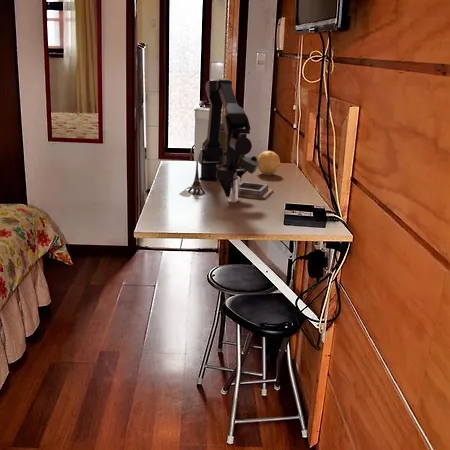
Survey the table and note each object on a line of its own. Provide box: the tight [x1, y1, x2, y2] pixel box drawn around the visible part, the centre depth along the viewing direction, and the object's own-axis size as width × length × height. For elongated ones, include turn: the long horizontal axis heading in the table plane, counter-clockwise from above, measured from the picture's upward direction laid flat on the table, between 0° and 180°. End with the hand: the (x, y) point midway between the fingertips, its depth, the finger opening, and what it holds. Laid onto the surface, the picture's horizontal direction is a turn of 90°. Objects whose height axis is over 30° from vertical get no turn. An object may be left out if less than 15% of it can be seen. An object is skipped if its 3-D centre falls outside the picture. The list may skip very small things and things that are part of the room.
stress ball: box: [257, 150, 281, 176], centre depth 234 cm, size 10×10×10 cm
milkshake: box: [227, 176, 241, 203], centre depth 195 cm, size 4×5×10 cm
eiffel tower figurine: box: [178, 160, 207, 200], centre depth 203 cm, size 15×10×13 cm
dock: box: [238, 181, 274, 200], centre depth 207 cm, size 14×12×3 cm
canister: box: [219, 121, 227, 168], centre depth 238 cm, size 11×10×20 cm
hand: (232, 193), depth 195 cm, fingers open, 9 cm apart
